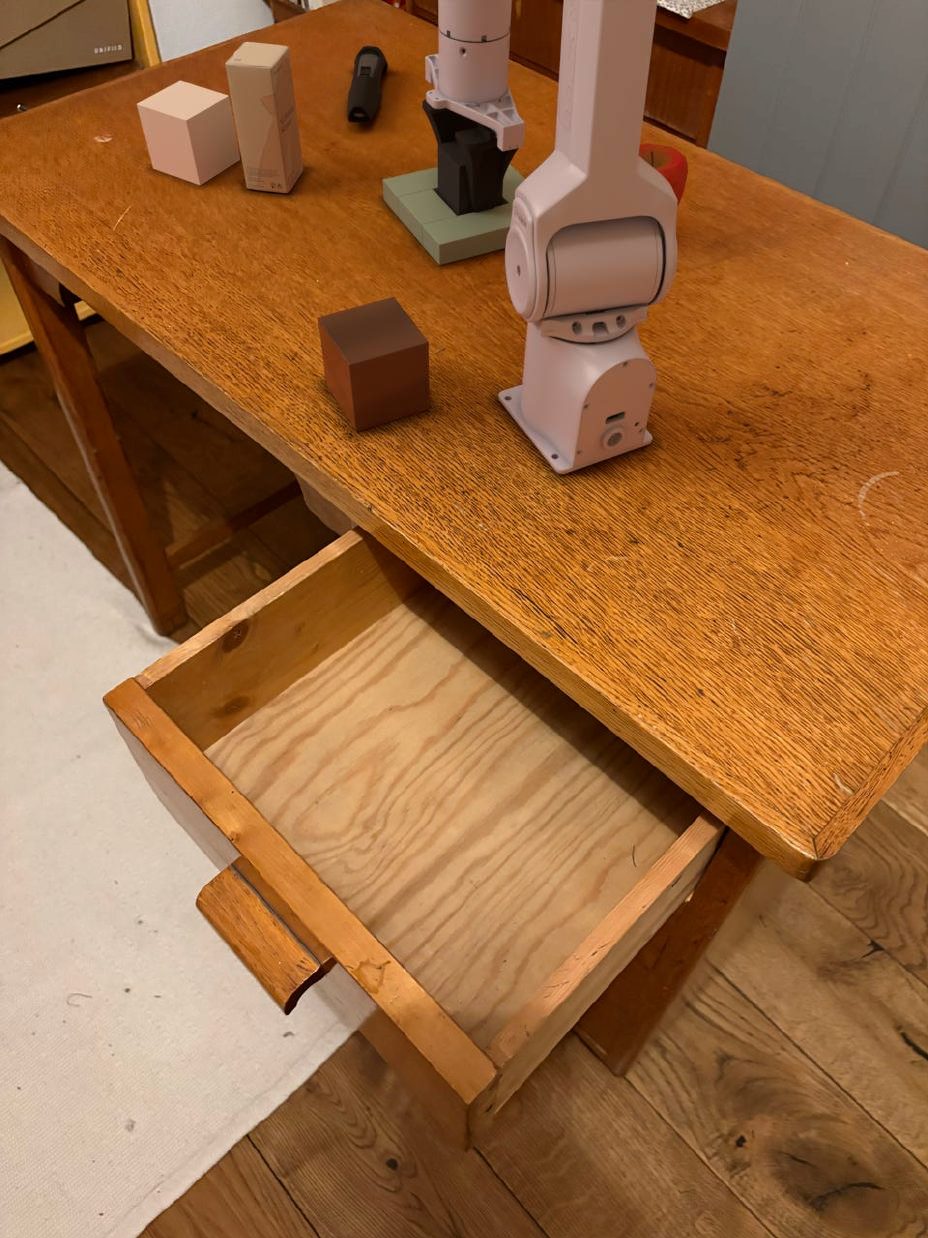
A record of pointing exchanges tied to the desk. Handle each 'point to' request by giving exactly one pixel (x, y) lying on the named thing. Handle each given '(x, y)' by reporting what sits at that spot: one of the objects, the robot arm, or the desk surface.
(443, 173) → the black block
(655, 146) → the apple
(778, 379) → the desk surface
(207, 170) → the pale pink cube
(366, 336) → the cube
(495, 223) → the square frame
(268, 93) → the box
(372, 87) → the electric trimmer
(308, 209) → the desk surface
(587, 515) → the desk surface
